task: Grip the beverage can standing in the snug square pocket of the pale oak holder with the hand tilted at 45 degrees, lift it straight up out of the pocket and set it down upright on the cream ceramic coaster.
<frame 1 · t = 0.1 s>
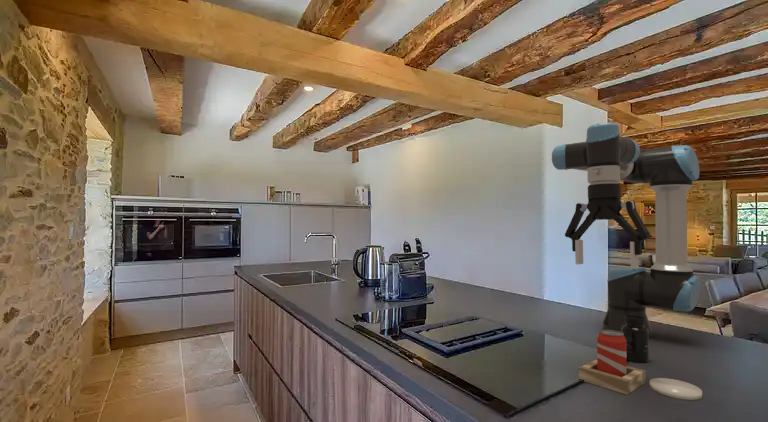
hand: (605, 266, 105), 28 cm above the worktop, tool pointing down, fingers open, 13 cm apart
supplement bottle: (634, 359, 117), on the worktop
coaster: (675, 390, 95), on the worktop
oak holder: (611, 381, 100), on the worktop
beverage can: (611, 382, 100), resting in oak holder
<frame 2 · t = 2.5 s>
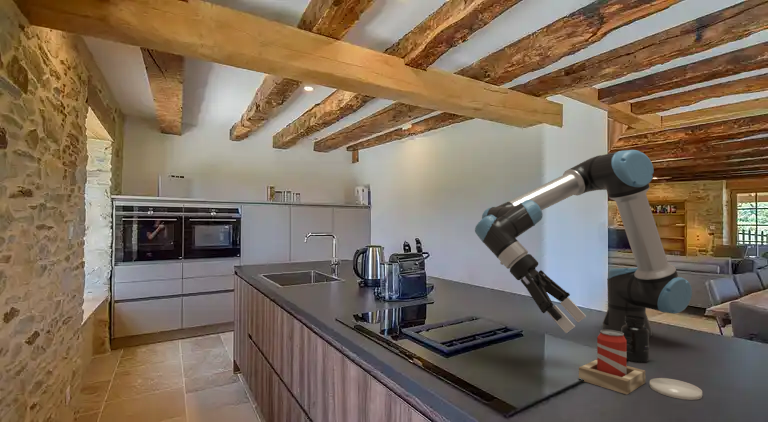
hand: (576, 324, 105), 13 cm above the worktop, tool tilted 45°, fingers open, 13 cm apart
nothing on the worktop moved.
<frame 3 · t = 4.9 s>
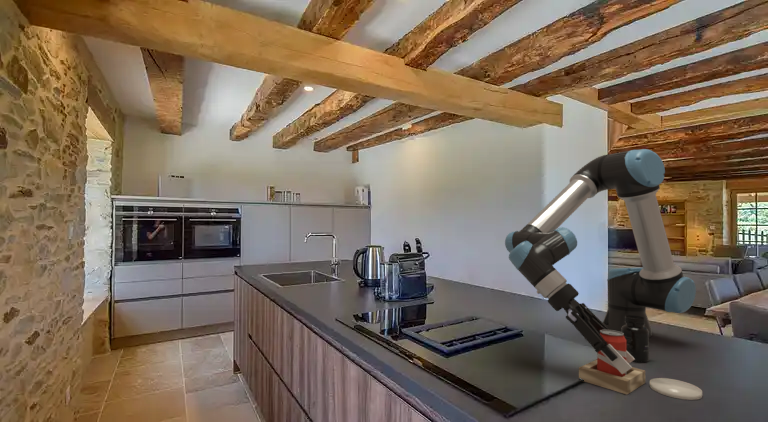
hand: (628, 366, 98), 4 cm above the worktop, tool tilted 45°, fingers closed on beverage can, 6 cm apart
beverage can: (611, 382, 100), resting in oak holder, touching gripper
everything else where it was.
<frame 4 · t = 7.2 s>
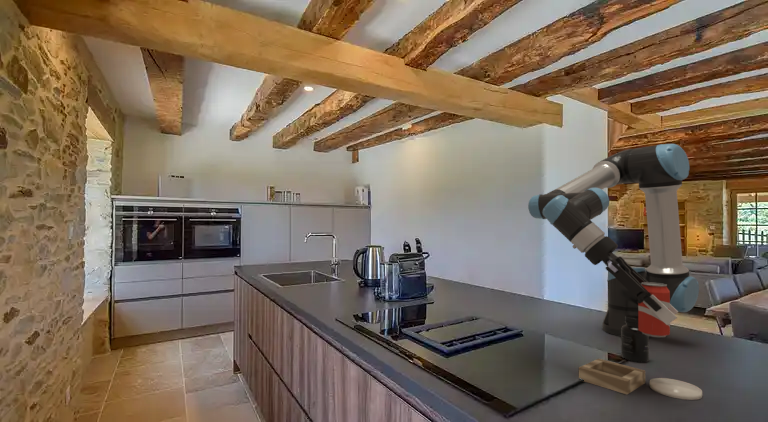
hand: (672, 318, 95), 17 cm above the worktop, tool tilted 45°, fingers closed on beverage can, 6 cm apart
beverage can: (654, 335, 97), point 12 cm above the worktop, touching gripper
everything else where it was.
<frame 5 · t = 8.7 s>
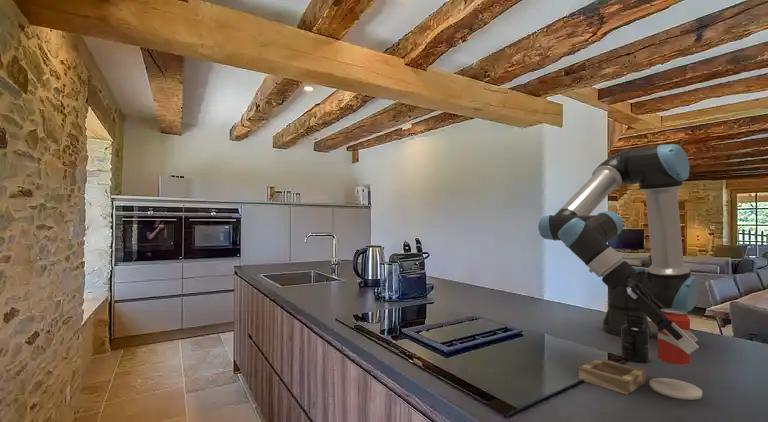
hand: (692, 346, 93), 11 cm above the worktop, tool tilted 45°, fingers closed on beverage can, 6 cm apart
beverage can: (673, 363, 95), point 6 cm above the worktop, touching gripper
everything else where it was.
when the fingers open (7 cm above the worktop, at t = 9.8 s): beverage can drops 1 cm, resting on coaster.
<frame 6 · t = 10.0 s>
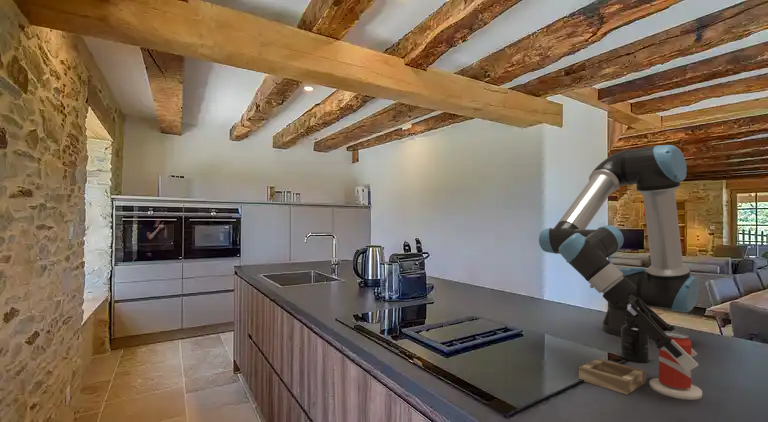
hand: (692, 362, 93), 7 cm above the worktop, tool tilted 45°, fingers open, 8 cm apart
beverage can: (674, 386, 95), point 1 cm above the worktop, touching coaster
everything else where it was.
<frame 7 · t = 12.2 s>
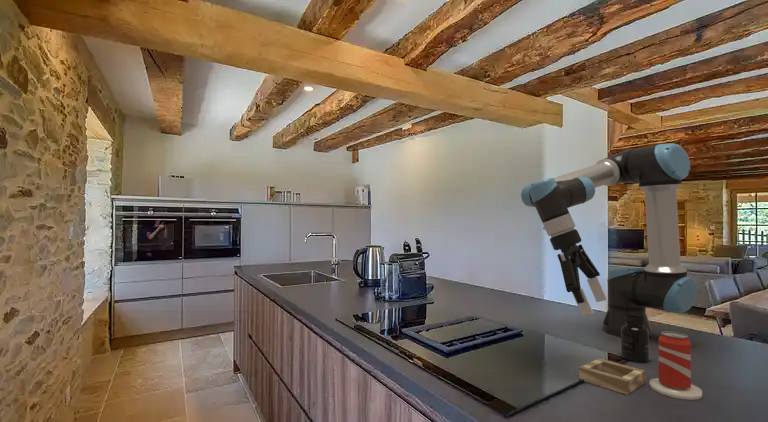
hand: (595, 307, 109), 16 cm above the worktop, tool tilted 20°, fingers open, 13 cm apart
nothing on the worktop moved.
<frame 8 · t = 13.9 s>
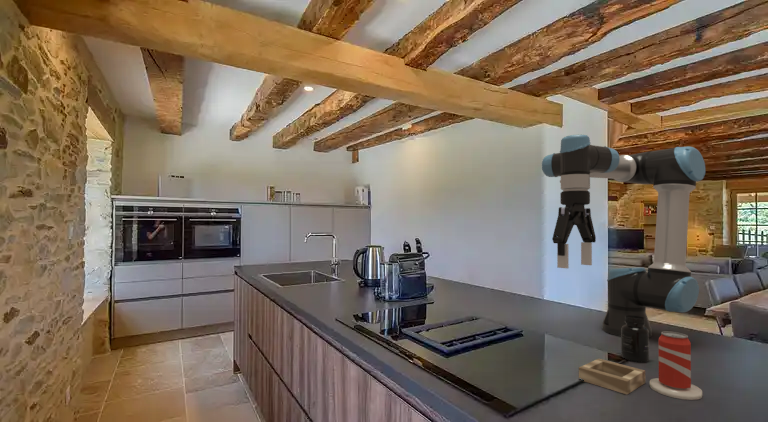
hand: (575, 266, 114), 27 cm above the worktop, tool pointing down, fingers open, 13 cm apart
nothing on the worktop moved.
at the end: beverage can 0.2 cm from the coaster (horizontally); beverage can tilted 0°; beverage can point 0.8 cm above the worktop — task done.
